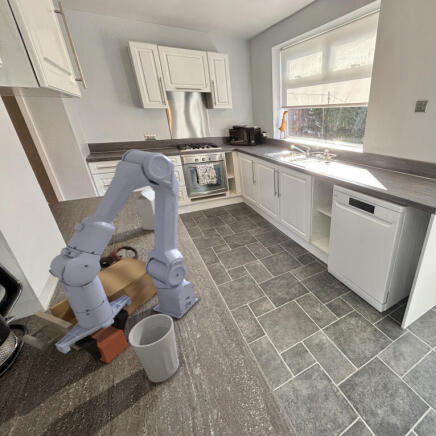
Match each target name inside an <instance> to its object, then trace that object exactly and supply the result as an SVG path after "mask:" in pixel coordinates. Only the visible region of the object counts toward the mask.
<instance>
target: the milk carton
mask: <svg viewBox="0 0 436 436" xmlns="http://www.w3.org/2000/svg"><path fill="white" fill-rule="evenodd" d="M135 202H136V206H137V209H138V213H139V217H140V221H141V224H142V228H143V230H146V231H147V230H148V231H154V212H155V191H154V189H152V188H151V187H150V186H149V187H148V188H147V189H144V190H142V191H140V193H139V196H138V197H137V198H136V199H135Z"/></svg>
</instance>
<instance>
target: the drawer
mask: <svg viewBox="0 0 436 436" xmlns="http://www.w3.org/2000/svg"><path fill="white" fill-rule="evenodd" d="M107 299H108V302H109V303H110V300H109V298H107ZM49 311H50V313H51V314H52V315H51V314H49V313H47V312H44V311H42V310H39V311H38V312H36V313H34V316H35V318H36V320H37V321H38V324H39V325H40V327H39V328H37V329H36V330H35V331H33V332H31V333H30V334H25V335H23V336H22V337H21V339H20V341H22V342H23V343H25V344H27V345H30V346H32V347H34V348H35V349H38V350H40V351H46V350H48V349H49V347H50V345H52V344H53V343H54V342H56V341H57V342H59V341H60V340H61V339H62V338H63V337H65V336H66V335H67V334H68V333H69V332H70V330H71V329H72V328H73V327H74V326H75V325H76V324H77V323H78V320H77V318H76V316H75V314H74V312H73V310H72V308H71V306H70V304H69V302H68V300H67V297H65V298H64V299H62V300H61V301H59V302H57V303H56V304H54V305H52V306H50V307H49ZM101 329H103V328H101ZM101 329H99V330H97V331H95V332H93V333H91V334H89V335H90V336H91V337H92V336H94V335H95V334H96V333H97V332H99V331H100V330H101ZM41 332H44V334H45V335H46V337H48V338H50V340H48V341H47V342H45V341H43V340H41V339H40V338H37V337H35V336H36V335H38V334H40V333H41ZM70 348H71V349H74V350H76V351H79V350H80V349H82V348H81V347H79V346H76V345H73V346H71V347H70Z"/></svg>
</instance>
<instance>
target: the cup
mask: <svg viewBox="0 0 436 436" xmlns="http://www.w3.org/2000/svg"><path fill="white" fill-rule="evenodd" d="M174 326H175V325H174V320H173V317H172V316H169V315H166V314H163V313H157V314H152V315H149V316H146V317H145V318H143V319H141V320H140V321H139V322H137V323H136V324H135V325H134V326H133V327H132V328H131V329H130V332H129V334H128V342H129V345H130V346H131V348H132V349H133V351H134V353H135V354H136V356H137V358H138V360H139V361H140V363H141V365H142V367H143V369H144V371H145V373H146V376H147V378H148V380H149V381H150V382H152V383H161V382H165V381H167V380H169V379H170V378H171V377H173V375H175V373H176V372H177V371H178V369H179V366H180V360H179V355H178V348H177V342H176V341H177V340H176V334H175V333H176V332H175V327H174Z"/></svg>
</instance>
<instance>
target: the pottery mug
mask: <svg viewBox="0 0 436 436" xmlns="http://www.w3.org/2000/svg"><path fill="white" fill-rule="evenodd" d="M121 250H125V251H132V253H134V256H133V257H131V258H132V259H136V260H139V253H138V250H137V249H136V248H135V247H133V246H130V245H122V246H118V247H116V248H115V249H114V250H112V251H111V252H110V253H109V255H107V256H102V257H100V260H99V263H100V269H101V268H102V269H106V268H108V267H109V266H111V265H113V264H114V263H116V262H118V261H120V260H122V259H124V258H123V255H121V254H119V255H118V253H119V252H121Z"/></svg>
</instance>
